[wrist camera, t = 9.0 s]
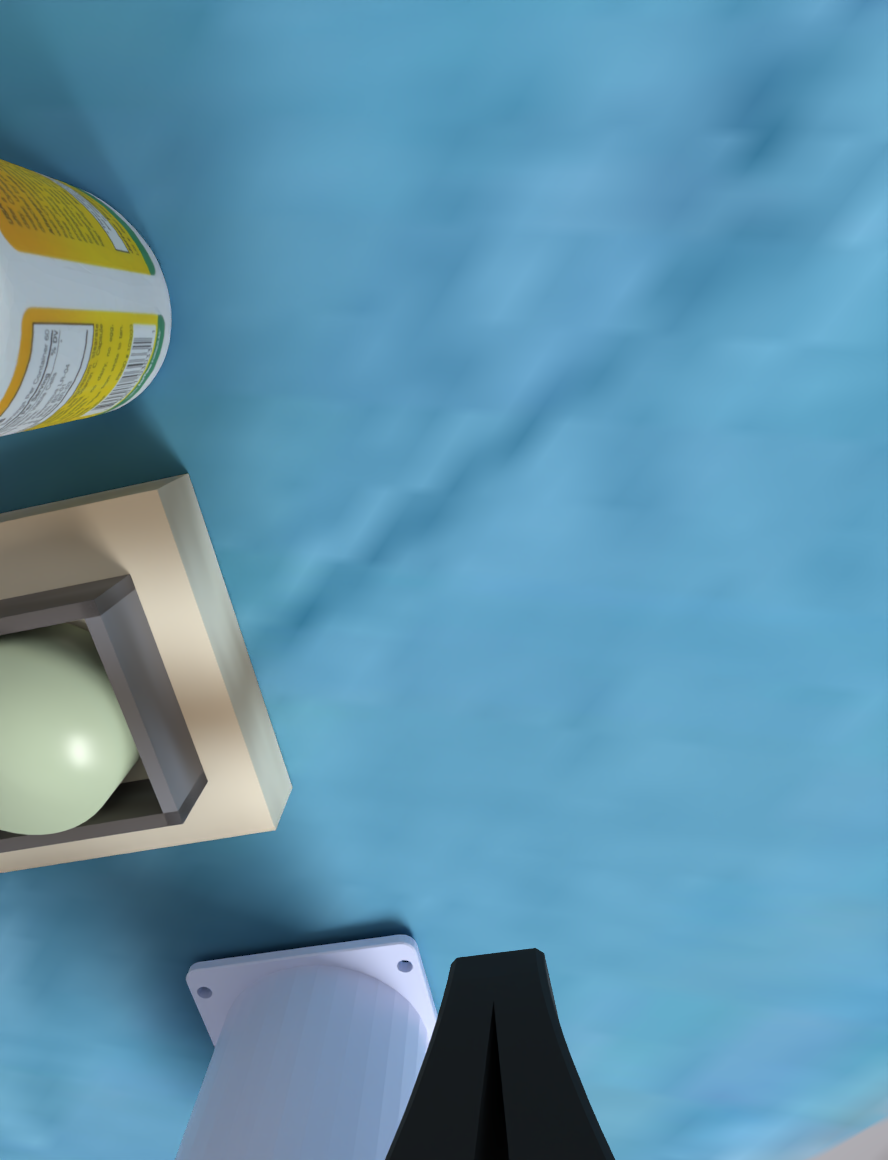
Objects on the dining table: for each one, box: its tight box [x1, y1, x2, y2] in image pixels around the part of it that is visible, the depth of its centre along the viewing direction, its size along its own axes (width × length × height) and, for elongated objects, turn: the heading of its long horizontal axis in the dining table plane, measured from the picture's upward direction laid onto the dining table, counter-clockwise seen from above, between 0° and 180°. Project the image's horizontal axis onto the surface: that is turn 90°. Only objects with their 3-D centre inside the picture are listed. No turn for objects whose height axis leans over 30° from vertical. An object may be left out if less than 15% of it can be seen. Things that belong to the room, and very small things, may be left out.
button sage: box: [0, 623, 140, 835], centre depth 18 cm, size 5×5×2 cm
